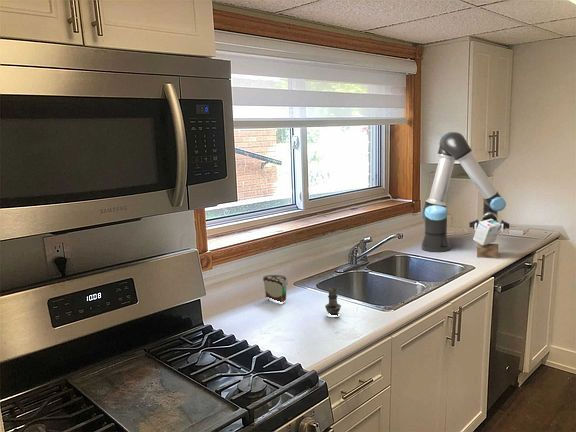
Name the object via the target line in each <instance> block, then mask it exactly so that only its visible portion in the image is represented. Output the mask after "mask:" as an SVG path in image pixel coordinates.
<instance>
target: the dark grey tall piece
mask: <svg viewBox="0 0 576 432" xmlns="http://www.w3.org/2000/svg"><path fill="white" fill-rule="evenodd" d="M337 294H338V293H337V288H336V287H335V286H334V285H333V284H331V286H330V287H329V288H328V296H327V298H328V303H327V304H325V305H324V306H325V309H326V312H327V313H330V314H331V315H337V316H338V314H340V313H339V312H340V311H341V307H342V305H341V304H339V303H338V298H339V297H338V295H337Z"/></svg>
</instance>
